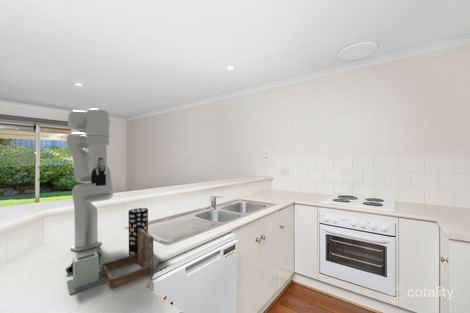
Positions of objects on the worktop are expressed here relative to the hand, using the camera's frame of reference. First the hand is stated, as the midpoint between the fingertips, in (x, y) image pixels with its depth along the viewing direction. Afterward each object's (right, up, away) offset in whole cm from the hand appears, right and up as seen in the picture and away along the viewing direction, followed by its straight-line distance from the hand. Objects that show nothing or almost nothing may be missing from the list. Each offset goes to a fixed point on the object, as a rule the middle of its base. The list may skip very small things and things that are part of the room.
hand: (98, 184), depth 85 cm
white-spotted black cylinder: (+9, -34, +16) cm, 39 cm away
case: (+12, -34, -2) cm, 36 cm away
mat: (0, -34, -8) cm, 35 cm away
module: (0, -34, -8) cm, 35 cm away
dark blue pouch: (-9, -35, +6) cm, 37 cm away
